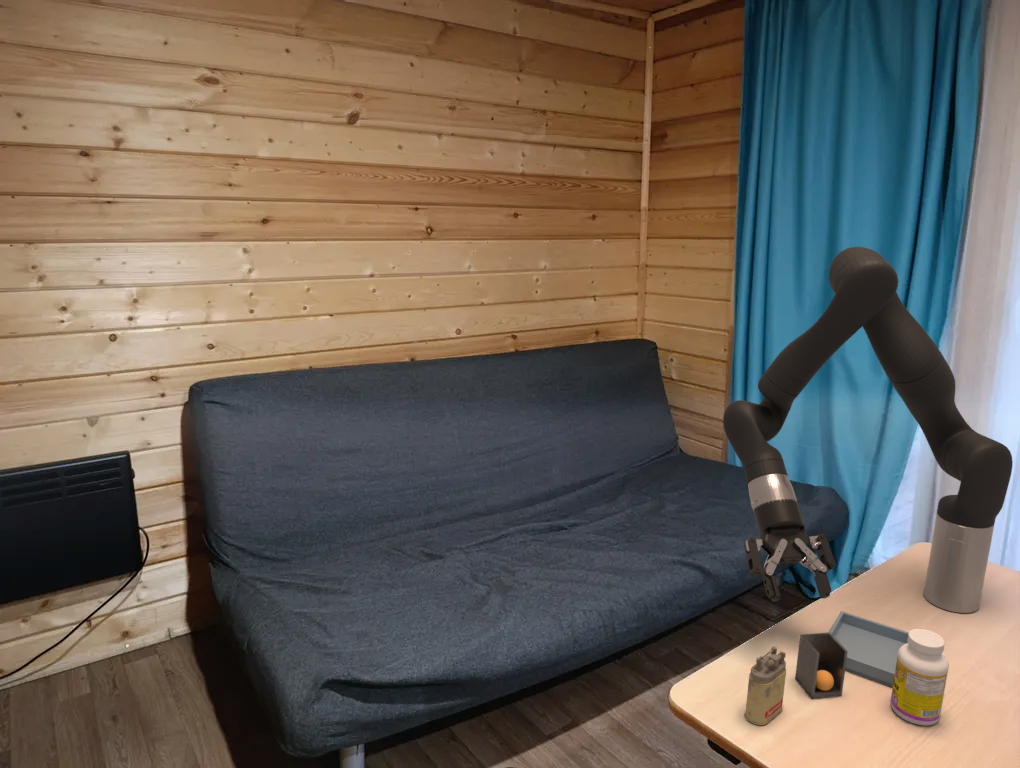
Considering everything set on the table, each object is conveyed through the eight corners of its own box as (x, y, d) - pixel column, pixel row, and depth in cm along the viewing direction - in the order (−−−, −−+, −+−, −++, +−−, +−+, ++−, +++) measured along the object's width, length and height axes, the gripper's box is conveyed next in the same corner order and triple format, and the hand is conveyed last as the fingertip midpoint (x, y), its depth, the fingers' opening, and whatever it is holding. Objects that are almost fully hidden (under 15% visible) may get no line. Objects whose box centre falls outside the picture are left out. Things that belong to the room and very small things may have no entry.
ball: (814, 668, 117) (823, 664, 115) (831, 681, 117) (840, 677, 114) (806, 683, 116) (815, 679, 113) (823, 696, 115) (832, 693, 113)
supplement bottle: (895, 691, 116) (907, 619, 112) (943, 710, 112) (956, 635, 108) (884, 714, 111) (896, 639, 107) (934, 734, 107) (948, 657, 103)
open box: (795, 678, 119) (800, 634, 117) (824, 675, 119) (829, 632, 117) (811, 699, 114) (817, 653, 112) (841, 696, 115) (847, 651, 113)
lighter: (760, 729, 108) (767, 670, 105) (738, 715, 110) (743, 657, 108) (786, 708, 112) (793, 650, 109) (764, 695, 115) (770, 639, 112)
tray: (839, 622, 134) (840, 610, 133) (913, 647, 127) (915, 634, 126) (817, 660, 123) (819, 647, 123) (896, 689, 116) (898, 675, 116)
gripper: (743, 499, 125) (769, 595, 117) (822, 495, 127) (853, 590, 118) (728, 515, 131) (751, 607, 123) (803, 511, 133) (831, 601, 125)
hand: (801, 598), depth 121 cm, fingers open, 8 cm apart
